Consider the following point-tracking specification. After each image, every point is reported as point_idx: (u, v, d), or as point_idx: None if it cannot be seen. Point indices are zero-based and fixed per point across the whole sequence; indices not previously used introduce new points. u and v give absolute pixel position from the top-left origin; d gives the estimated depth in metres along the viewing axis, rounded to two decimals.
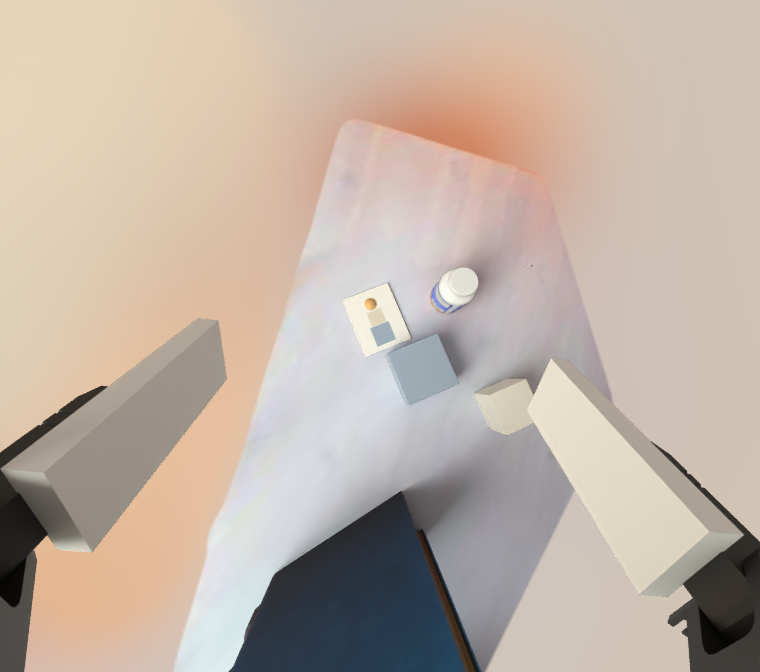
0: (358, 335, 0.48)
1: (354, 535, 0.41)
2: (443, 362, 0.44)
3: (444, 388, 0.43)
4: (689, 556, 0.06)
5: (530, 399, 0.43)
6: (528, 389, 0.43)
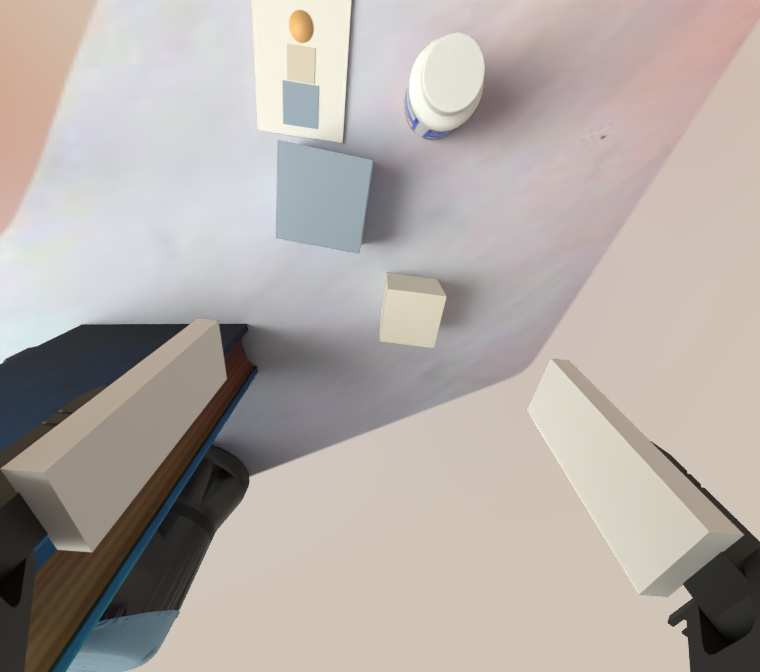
0: (258, 81, 0.27)
1: (163, 339, 0.35)
2: (355, 211, 0.27)
3: (335, 247, 0.29)
4: (689, 556, 0.06)
5: (433, 321, 0.31)
6: (440, 309, 0.31)
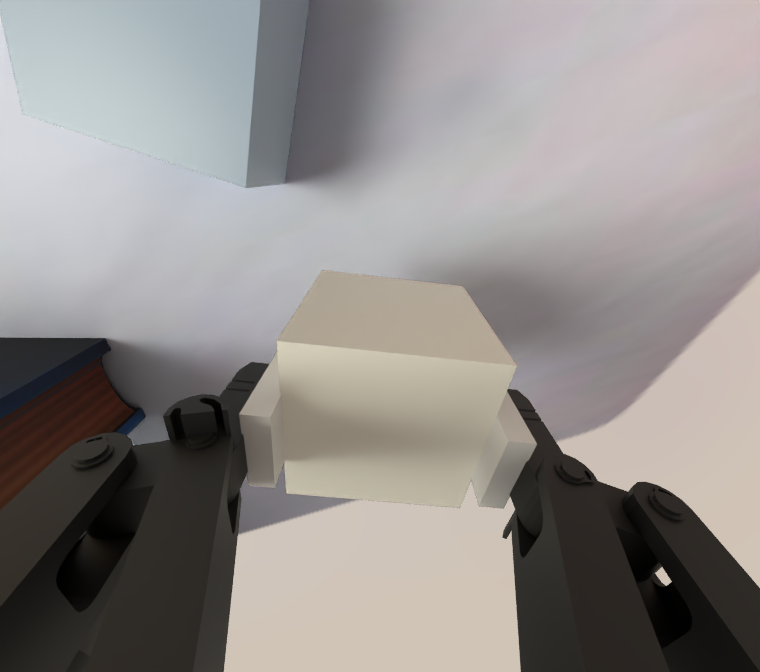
0: None
1: None
2: (228, 58, 0.10)
3: (185, 162, 0.11)
4: (503, 466, 0.08)
5: (462, 443, 0.09)
6: (488, 409, 0.08)
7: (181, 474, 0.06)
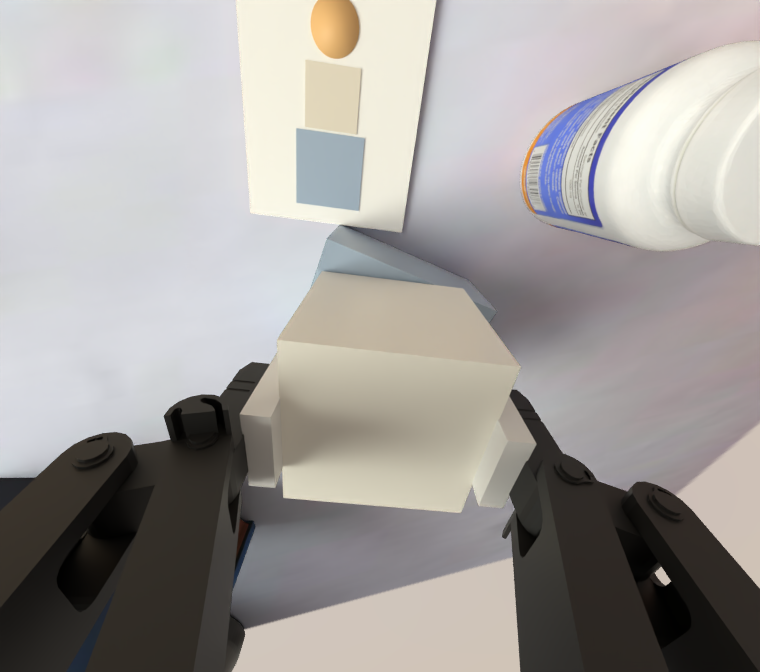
0: (250, 130, 0.14)
1: None
2: None
3: None
4: (503, 466, 0.08)
5: (465, 446, 0.09)
6: (491, 411, 0.08)
7: (182, 474, 0.06)
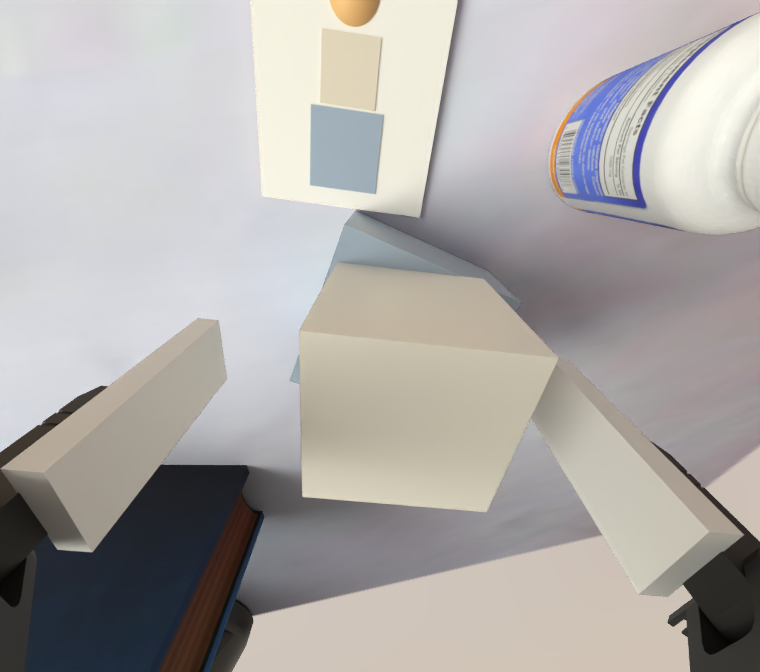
0: (262, 107, 0.13)
1: None
2: None
3: None
4: (689, 556, 0.06)
5: (494, 442, 0.08)
6: (524, 405, 0.08)
7: None
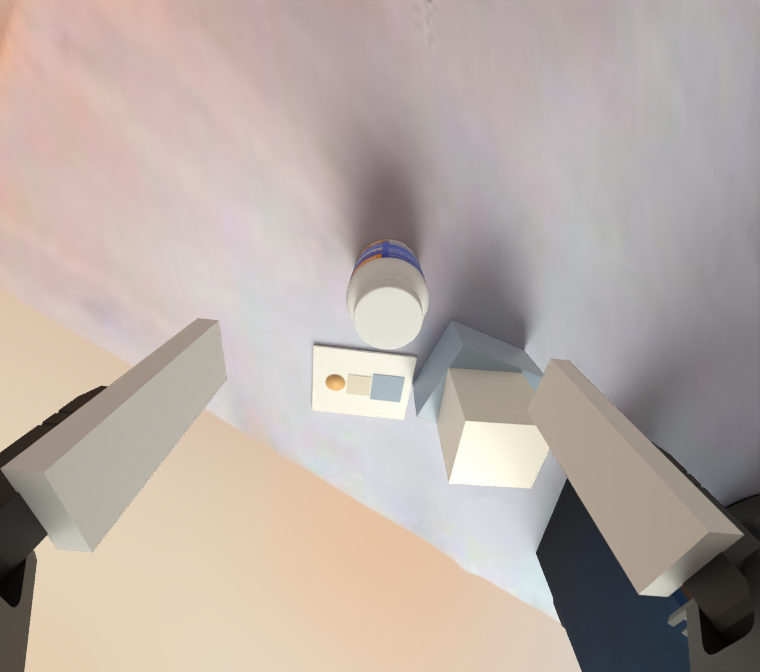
0: (371, 414, 0.32)
1: (576, 530, 0.35)
2: None
3: None
4: (689, 556, 0.06)
5: (507, 432, 0.19)
6: (487, 426, 0.19)
7: None
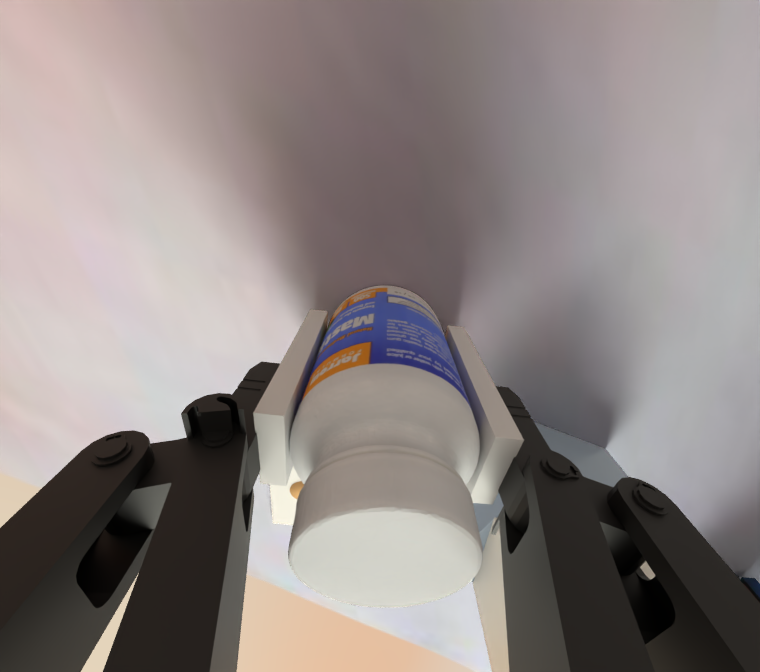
0: None
1: None
2: None
3: None
4: (491, 462, 0.08)
5: None
6: None
7: (198, 471, 0.06)
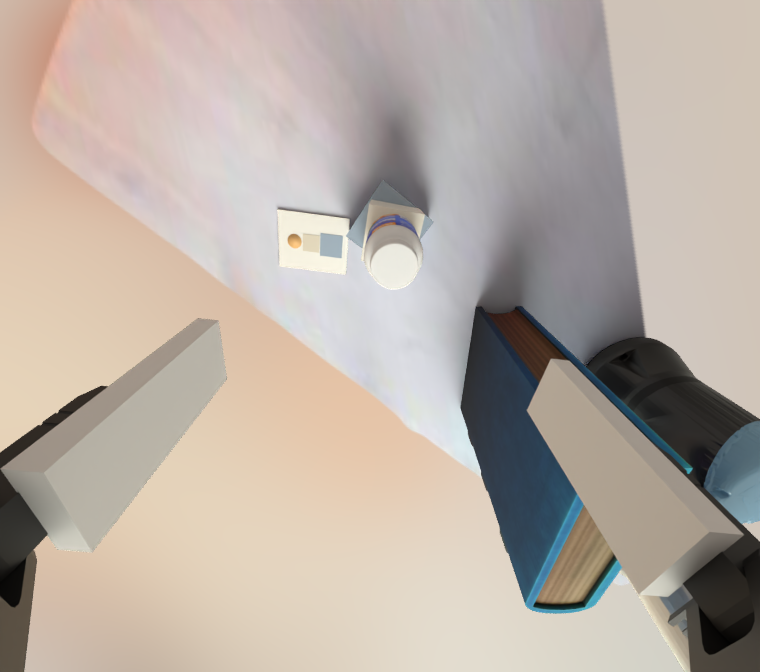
0: (321, 270, 0.45)
1: (475, 362, 0.48)
2: None
3: (420, 236, 0.39)
4: (689, 556, 0.06)
5: None
6: (382, 209, 0.32)
7: None
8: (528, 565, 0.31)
